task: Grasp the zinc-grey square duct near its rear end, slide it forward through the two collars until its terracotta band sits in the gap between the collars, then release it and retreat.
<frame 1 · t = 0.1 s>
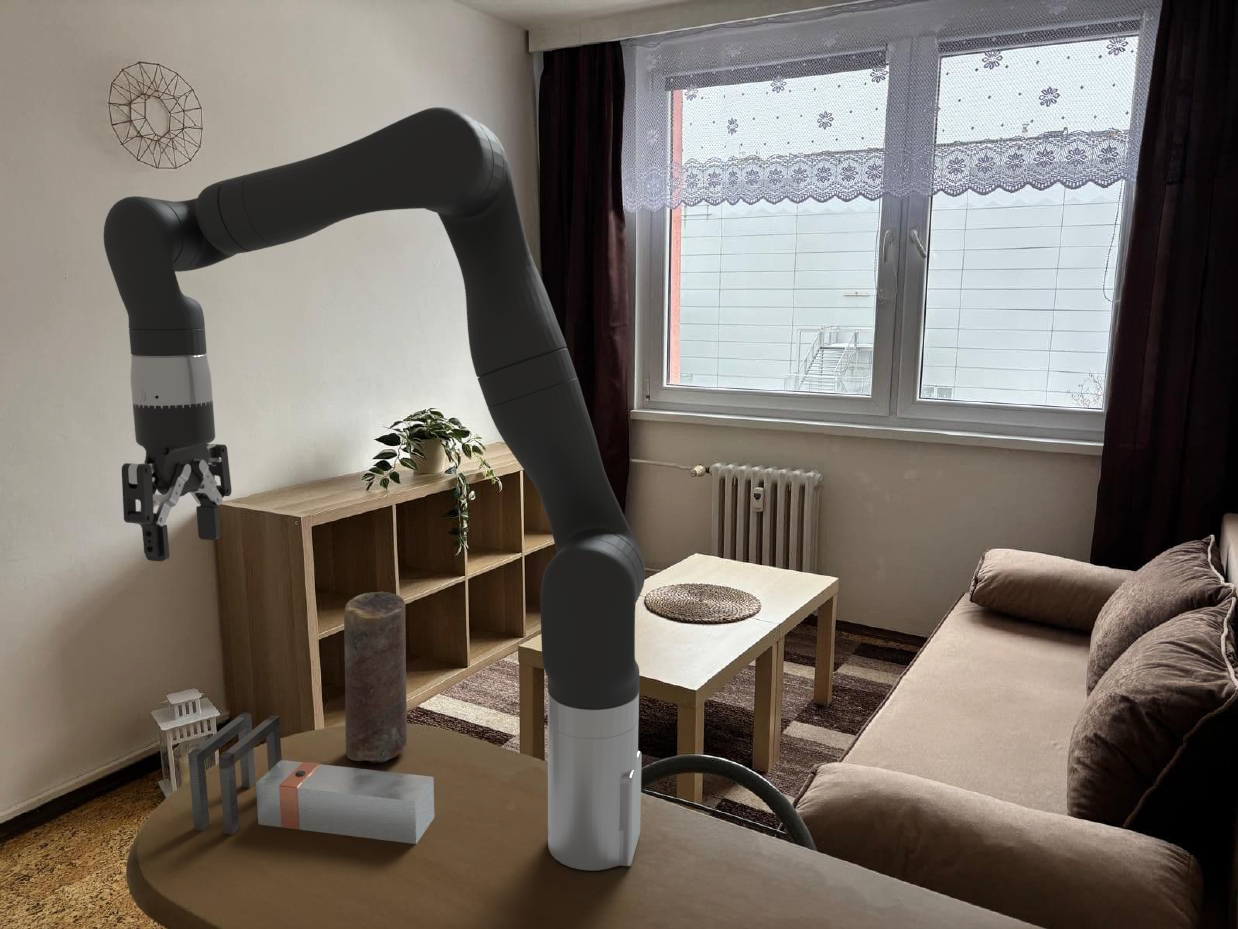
hand: (185, 549, 98), 29 cm above the table, tool pointing down, fingers open, 8 cm apart
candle: (378, 756, 113), on the table
collar near: (255, 808, 101), on the table
duct: (347, 822, 99), on the table
collar far: (226, 805, 102), on the table
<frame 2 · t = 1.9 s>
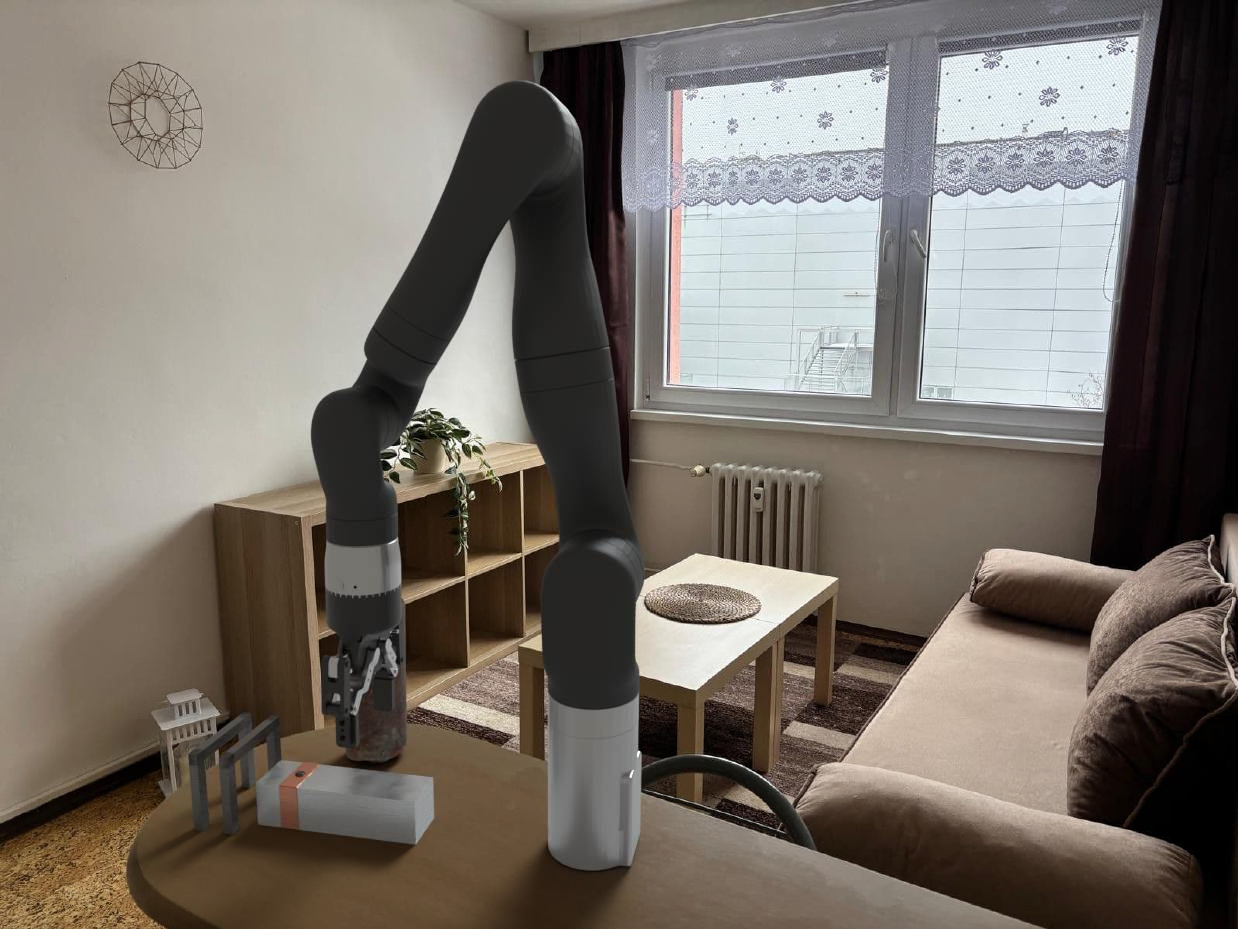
hand: (367, 727, 96), 11 cm above the table, tool pointing down, fingers open, 8 cm apart
nothing on the table moved.
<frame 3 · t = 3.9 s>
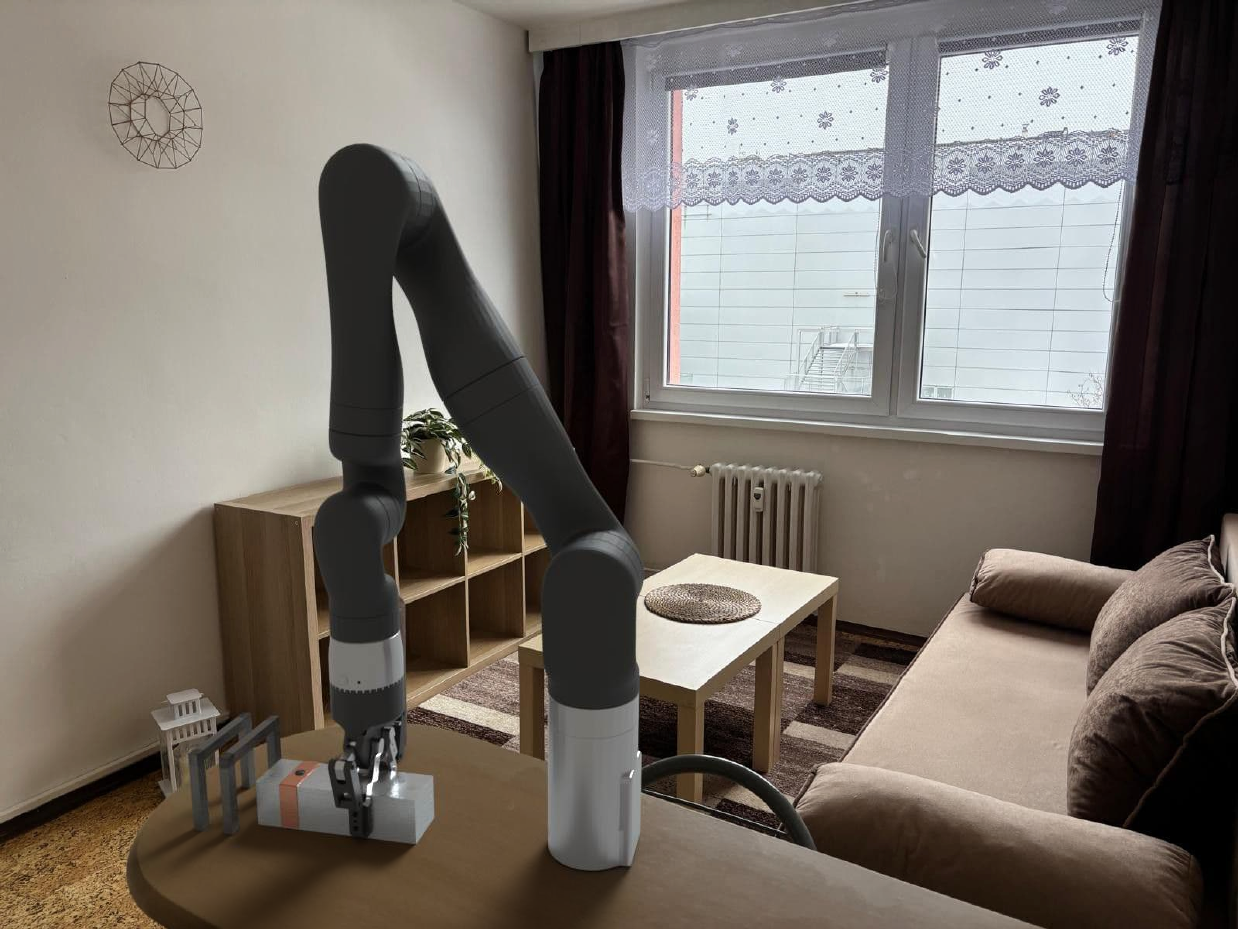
hand: (372, 820, 98), 0 cm above the table, tool pointing down, fingers closed on duct, 5 cm apart
duct: (347, 821, 99), on the table, touching gripper
everything else where it was.
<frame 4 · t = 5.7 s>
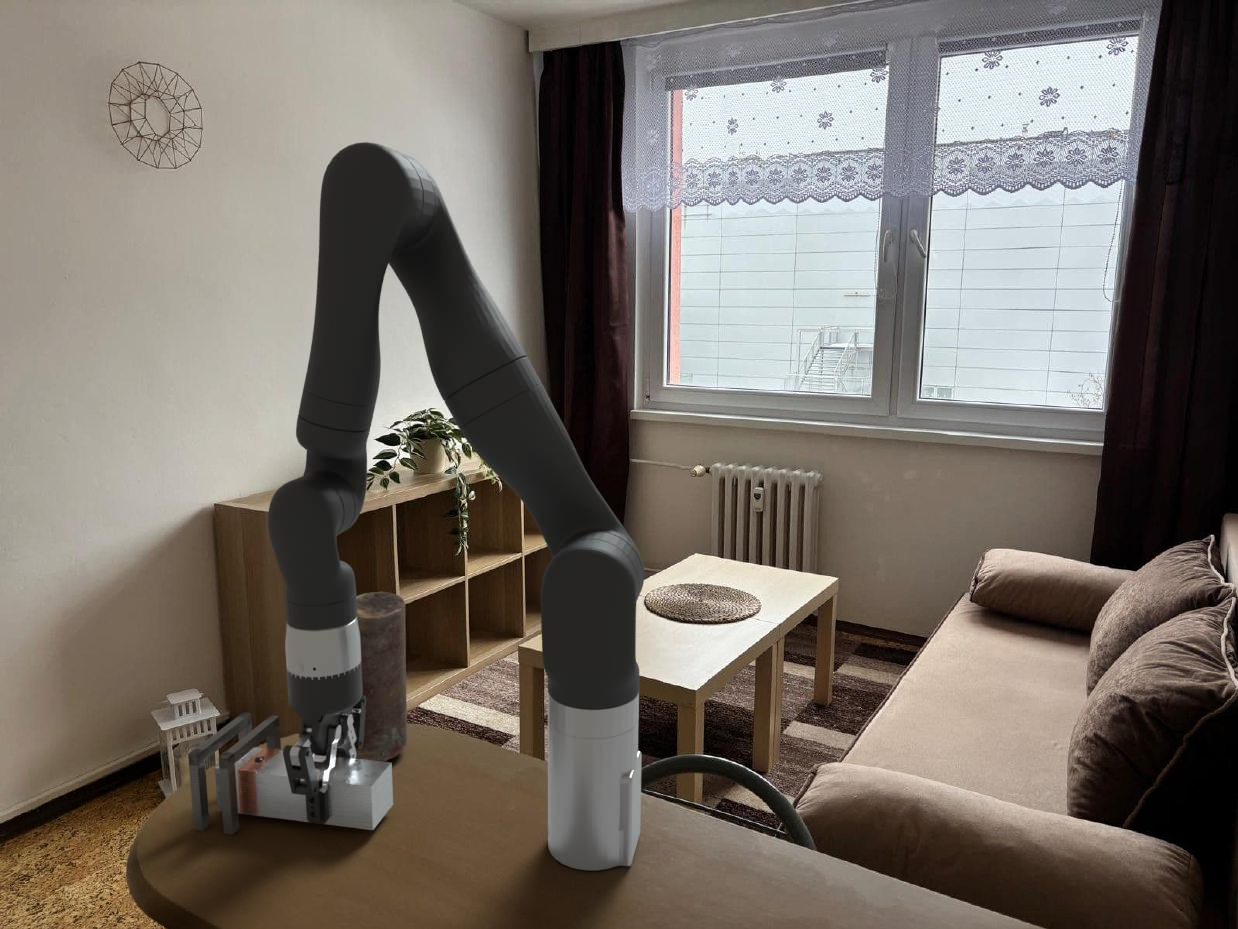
hand: (331, 806, 99), 1 cm above the table, tool pointing down, fingers closed on duct, 5 cm apart
duct: (306, 807, 100), point 1 cm above the table, touching gripper
everything else where it was.
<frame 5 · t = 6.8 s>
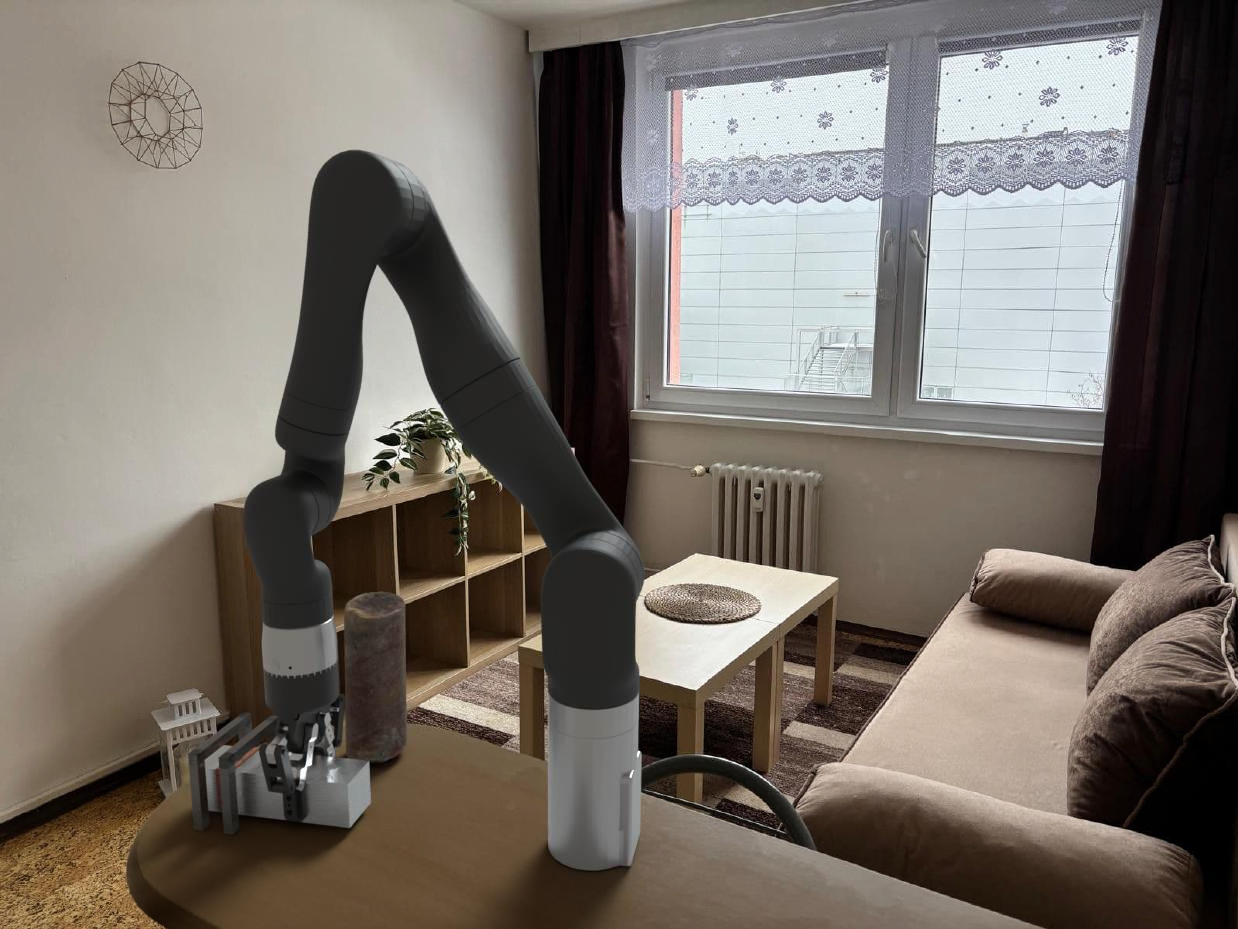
hand: (309, 804, 100), 1 cm above the table, tool pointing down, fingers closed on duct, 5 cm apart
duct: (284, 805, 100), point 1 cm above the table, touching gripper
everything else where it was.
when the fingers open (1 cm above the table, at t = 7.5 s): duct stays where it is, on the table.
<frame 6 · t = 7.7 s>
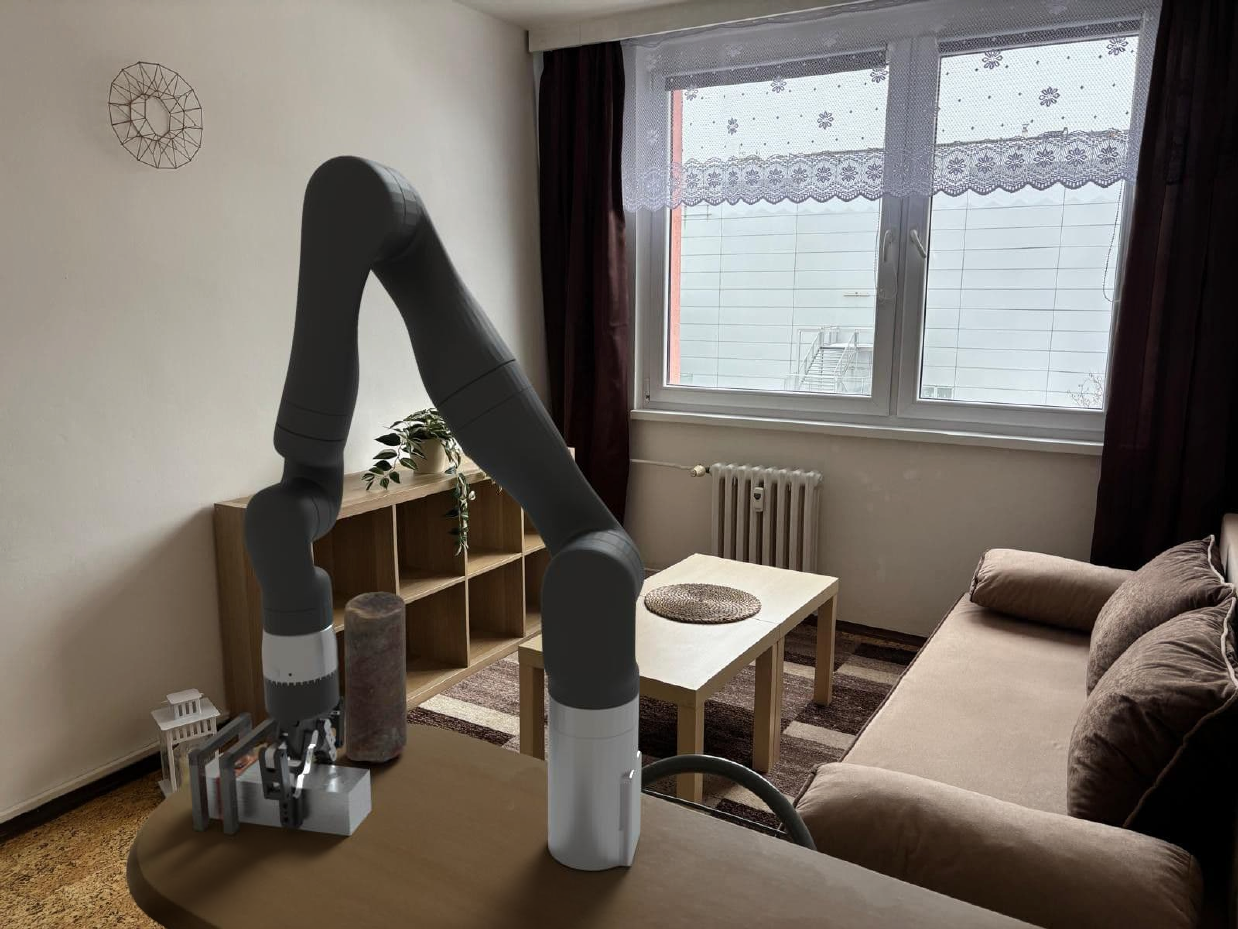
hand: (308, 808, 100), 1 cm above the table, tool pointing down, fingers open, 6 cm apart
duct: (284, 814, 100), on the table
everything else where it was.
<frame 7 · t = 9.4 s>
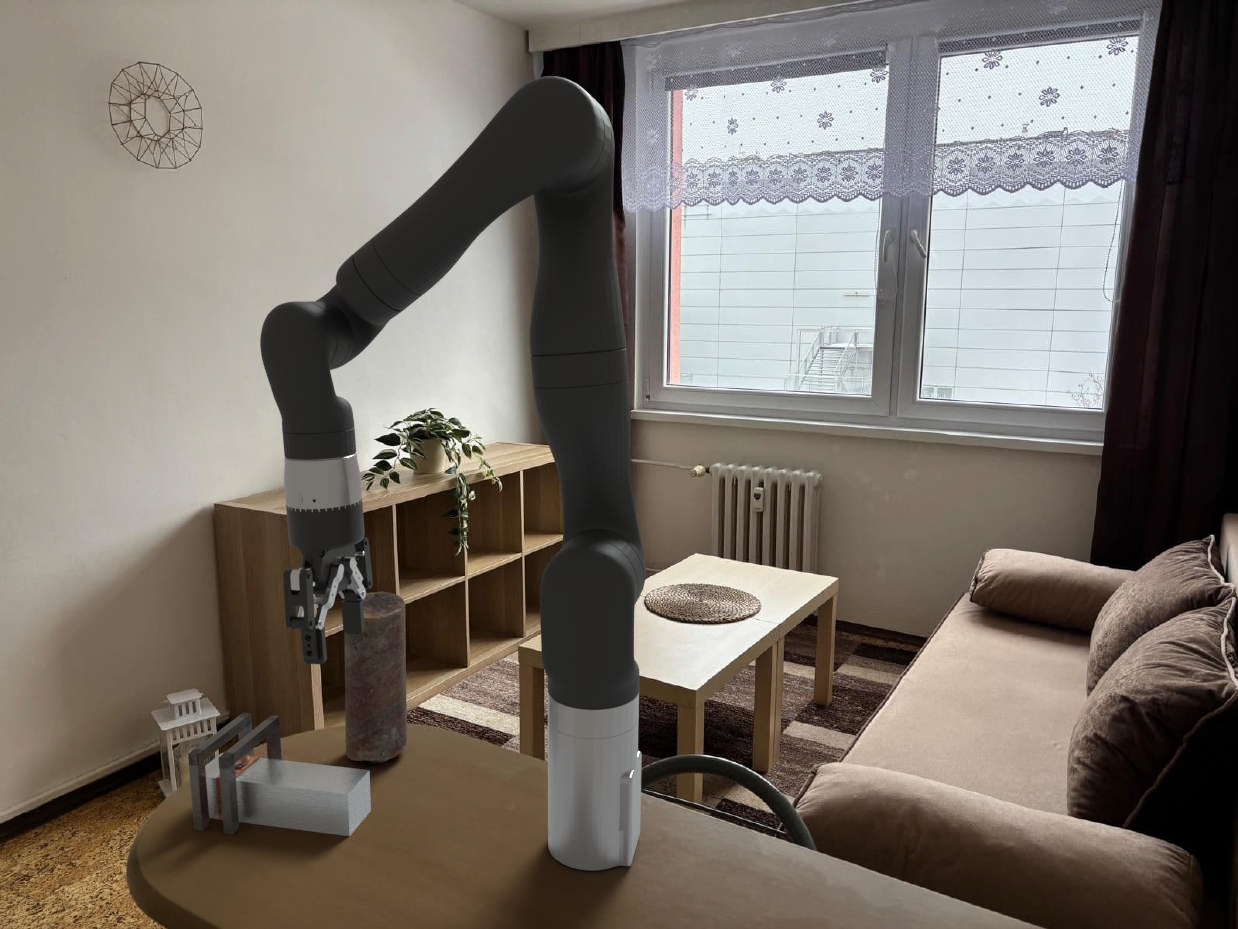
hand: (335, 647, 97), 19 cm above the table, tool pointing down, fingers open, 8 cm apart
nothing on the table moved.
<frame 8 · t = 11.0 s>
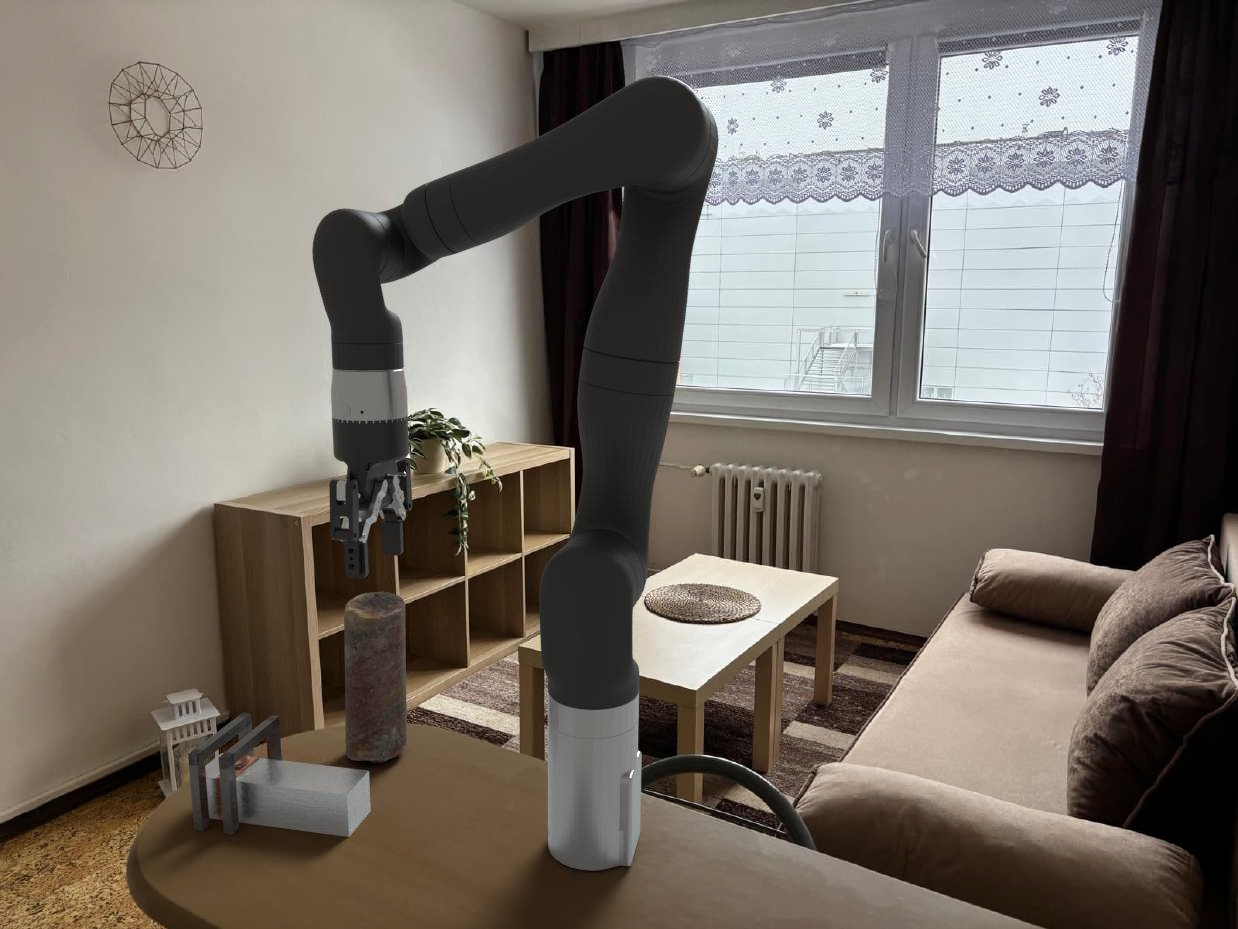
hand: (375, 565, 96), 28 cm above the table, tool pointing down, fingers open, 8 cm apart
nothing on the table moved.
at the end: duct 0.2 cm from the target spot, on the table; the gripper is holding nothing; duct tilted 0° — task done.
